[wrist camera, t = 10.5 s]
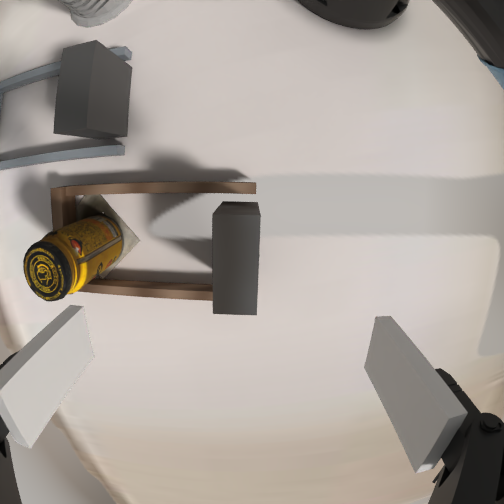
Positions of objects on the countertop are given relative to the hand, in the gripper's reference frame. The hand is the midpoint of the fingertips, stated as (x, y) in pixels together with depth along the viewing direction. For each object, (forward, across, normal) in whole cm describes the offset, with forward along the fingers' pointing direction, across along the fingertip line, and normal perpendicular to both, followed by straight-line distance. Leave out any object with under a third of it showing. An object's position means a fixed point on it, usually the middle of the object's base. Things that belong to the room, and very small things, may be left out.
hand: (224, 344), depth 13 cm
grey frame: (+20, -24, +15) cm, 35 cm away
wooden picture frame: (+20, -10, 0) cm, 23 cm away
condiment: (+21, -17, 0) cm, 27 cm away
